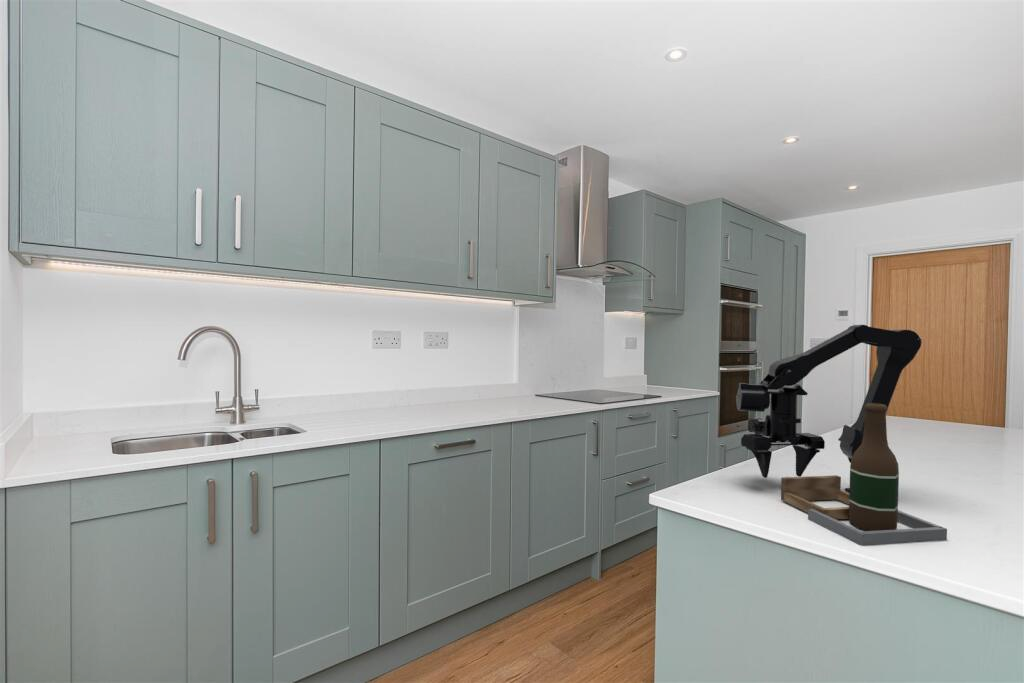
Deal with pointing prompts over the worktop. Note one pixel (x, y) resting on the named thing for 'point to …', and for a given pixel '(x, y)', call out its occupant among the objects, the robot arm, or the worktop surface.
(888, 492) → the beer bottle
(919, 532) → the tray bay
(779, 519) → the worktop surface
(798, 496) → the brown wooden frame
